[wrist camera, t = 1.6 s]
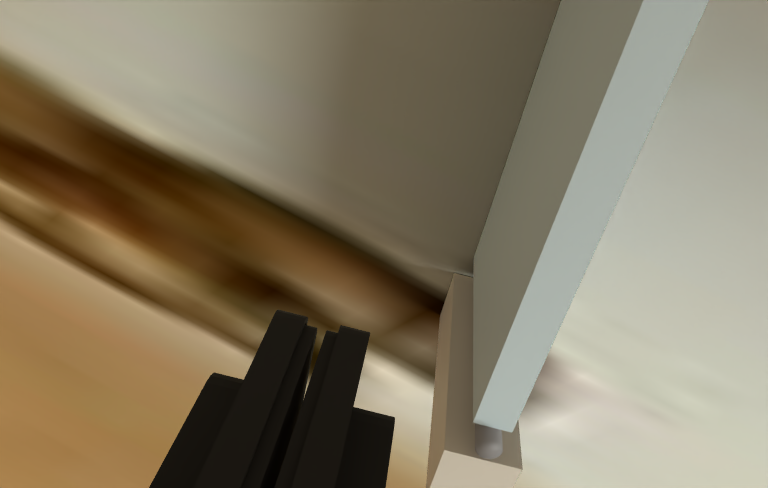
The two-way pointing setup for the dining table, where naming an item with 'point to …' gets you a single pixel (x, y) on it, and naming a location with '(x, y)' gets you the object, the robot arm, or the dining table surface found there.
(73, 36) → the dining table surface
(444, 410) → the hinge post
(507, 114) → the dining table surface
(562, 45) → the door
